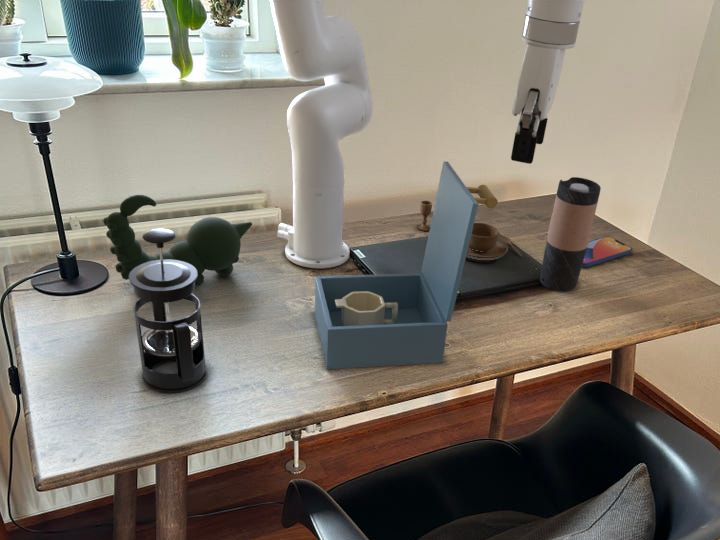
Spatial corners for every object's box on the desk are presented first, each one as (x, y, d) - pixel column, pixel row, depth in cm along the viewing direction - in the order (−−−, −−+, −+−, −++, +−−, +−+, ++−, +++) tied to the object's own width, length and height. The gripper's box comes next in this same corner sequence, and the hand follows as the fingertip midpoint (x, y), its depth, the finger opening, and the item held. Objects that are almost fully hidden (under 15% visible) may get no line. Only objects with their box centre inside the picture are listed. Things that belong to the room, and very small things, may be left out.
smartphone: (558, 254, 155) (559, 249, 154) (607, 239, 162) (608, 235, 161) (583, 269, 150) (584, 264, 149) (633, 253, 157) (634, 249, 156)
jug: (337, 346, 118) (338, 313, 115) (331, 324, 123) (332, 292, 120) (399, 343, 120) (402, 310, 117) (391, 321, 126) (394, 290, 122)
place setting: (450, 269, 145) (454, 241, 142) (412, 226, 160) (415, 200, 157) (528, 260, 151) (533, 233, 148) (485, 220, 166) (488, 195, 163)
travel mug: (577, 295, 140) (602, 195, 129) (537, 288, 141) (558, 189, 130) (577, 276, 147) (601, 180, 135) (539, 270, 148) (559, 174, 136)
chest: (326, 369, 114) (327, 329, 110) (314, 313, 127) (315, 276, 123) (442, 362, 118) (448, 324, 114) (419, 309, 131) (423, 273, 127)
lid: (473, 203, 103) (513, 206, 105) (443, 161, 116) (479, 164, 118) (445, 321, 114) (482, 322, 115) (421, 270, 127) (454, 272, 128)
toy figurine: (136, 317, 125) (268, 273, 137) (110, 215, 113) (257, 177, 125) (117, 293, 131) (245, 252, 143) (91, 193, 119) (232, 158, 131)
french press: (132, 364, 111) (110, 223, 98) (192, 348, 116) (179, 211, 103) (158, 407, 104) (138, 260, 91) (221, 388, 108) (211, 246, 95)
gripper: (533, 17, 111) (513, 131, 120) (512, 38, 97) (491, 164, 107) (583, 25, 109) (559, 140, 119) (569, 47, 95) (542, 174, 105)
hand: (527, 151), depth 113 cm, fingers open, 9 cm apart
